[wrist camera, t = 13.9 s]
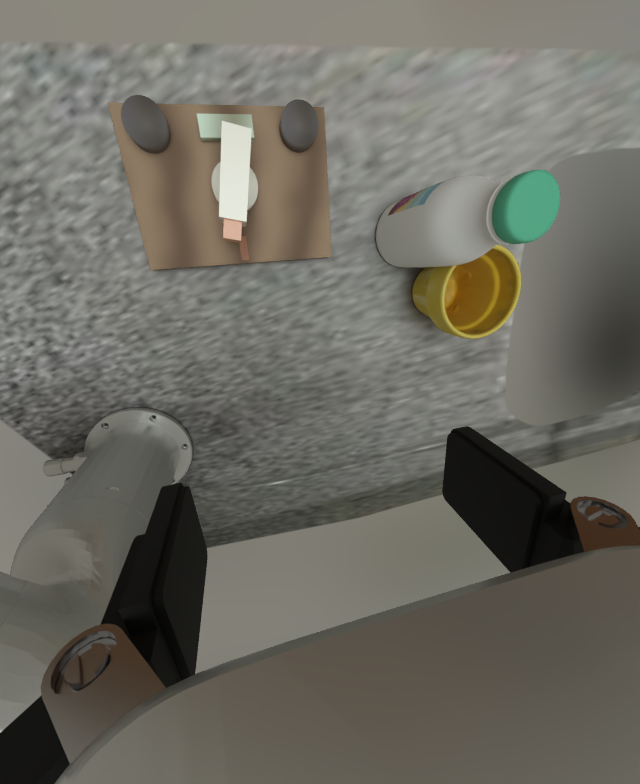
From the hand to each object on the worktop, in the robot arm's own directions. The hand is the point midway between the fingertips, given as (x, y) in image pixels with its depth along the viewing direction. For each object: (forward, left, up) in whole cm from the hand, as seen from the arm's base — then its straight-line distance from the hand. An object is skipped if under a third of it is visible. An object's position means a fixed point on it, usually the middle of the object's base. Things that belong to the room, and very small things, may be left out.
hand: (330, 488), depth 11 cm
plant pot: (+24, +3, -32) cm, 41 cm away
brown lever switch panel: (-1, +15, -32) cm, 36 cm away
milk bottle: (+19, +10, -32) cm, 39 cm away
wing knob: (-1, +15, -30) cm, 34 cm away
